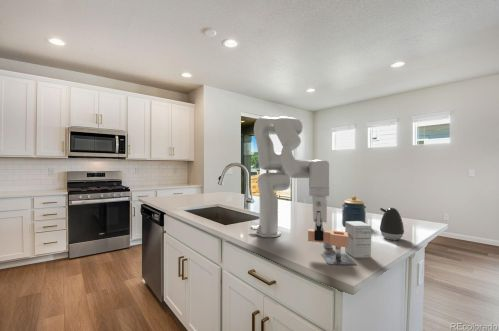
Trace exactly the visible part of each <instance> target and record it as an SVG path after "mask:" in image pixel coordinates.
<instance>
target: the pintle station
mask: <svg viewBox="0 0 499 331" xmlns="http://www.w3.org/2000/svg"><path fill="white" fill-rule="evenodd" d="M334 250H335V251H334V253H321V254H320V255H321V256H322V257H323V259H324V260H325V262H326V264H327V265H328V266H330V265H331V266H357V263H356V262H355V261H354V260H353V259H352V258H351V257H350V256H349V254H348V253H342V247H340V246H334Z"/></svg>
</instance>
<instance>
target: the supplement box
mask: <svg viewBox="0 0 499 331" xmlns="http://www.w3.org/2000/svg"><path fill="white" fill-rule="evenodd" d="M344 227H345V229H344V232H347V233H348V236H349V240H348V247H344V252H346V254H348V255H350V256H352V257H353V258H371V254H372V252H371V251H372V225H370V224H368V223H364V222H361V221H346V222H345V226H344Z"/></svg>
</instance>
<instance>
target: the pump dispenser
mask: <svg viewBox="0 0 499 331" xmlns="http://www.w3.org/2000/svg"><path fill="white" fill-rule="evenodd" d="M379 210H380V211H381V212H383V215H382V218H381V220H380V225H379V231H380V234H381V236H382V237H383V238H385V239H386V240H389V241H399V240H400V239H402V237H403V235H404V234H405V227H404V221H403V219H402V217H401V214H400V213H399V211H398V209H397V208H394V207H388V208H387V209H385V208H383V207H380V208H379Z"/></svg>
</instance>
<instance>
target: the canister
mask: <svg viewBox="0 0 499 331" xmlns="http://www.w3.org/2000/svg"><path fill="white" fill-rule="evenodd" d="M364 204H365V202H364V201H363V200H361V199H359V198H358V199H357V196H355V195H352V196H351V198H346V199H345V200H343V204H341V206H342V210H341V212H342V216H341V218H342V220H341V223H342V224H341V225H342V226H343V227H345V222H346V221H361V222H364V223H366V218H367V217H366V213H367V212H366V208H367V207H366V205H364ZM366 224H367V223H366Z"/></svg>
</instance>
